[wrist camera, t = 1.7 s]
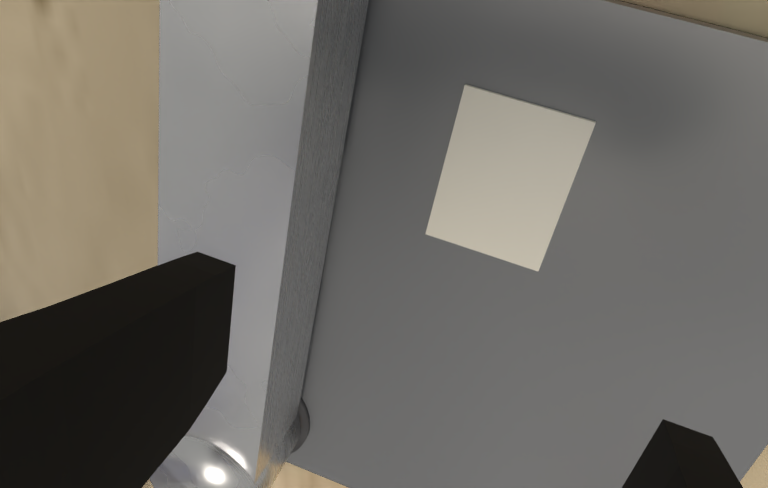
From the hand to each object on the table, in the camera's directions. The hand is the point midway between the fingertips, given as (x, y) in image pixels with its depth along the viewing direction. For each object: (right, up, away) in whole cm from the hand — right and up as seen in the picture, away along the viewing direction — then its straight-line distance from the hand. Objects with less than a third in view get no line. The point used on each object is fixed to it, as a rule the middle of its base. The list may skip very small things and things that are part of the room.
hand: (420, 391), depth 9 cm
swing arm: (-4, +2, +9) cm, 10 cm away
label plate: (+2, 0, +9) cm, 9 cm away
